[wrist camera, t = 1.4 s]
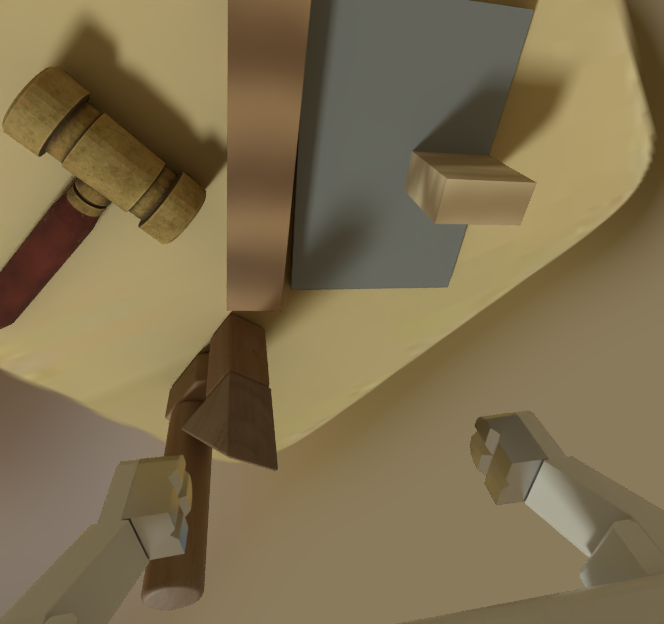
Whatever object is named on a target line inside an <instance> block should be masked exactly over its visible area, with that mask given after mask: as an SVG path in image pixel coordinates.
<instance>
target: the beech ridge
mask: <svg viewBox="0 0 664 624" xmlns="http://www.w3.org/2000/svg"><path fill="white" fill-rule="evenodd" d="M535 186H536V182H535V181H533V180H531V179H529V178H527V177H526V176H524V175H522V174H520V173H519V172H517V171H515V170H513V169H512V168H510V167H508V166H506V165H505V164H503V163H501V162H499V161H498V160H496V159H494V158H492V157H491V156H488V155H471V154H454V153H437V152H420V151H412V154H411V159H410V163H409V168H408V173H407V178H406V183H405V188H404V191H405V192H406V193H407V194H408V195H409V196H410V197H411V198H412V199H413V201H414V202H415V203H416V204H417V205H418V206H419V207H420V208H421V209H422V210H423V211H424V212H425V213H426V214H427V215H428V216H429V218H430V219H431V220H432V221H433V222H434V223H435V224H476V225H520V224H521V222H522V219H523V217H524V214H525V211H526V209H527V206H528V204H529V201H530V199H531V196H532V194H533V191H534V189H535Z"/></svg>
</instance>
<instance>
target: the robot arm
mask: <svg viewBox="0 0 664 624" xmlns="http://www.w3.org/2000/svg"><path fill="white" fill-rule="evenodd" d="M475 427H476V429H477V432H476V433H475V434H474V435H473V436H472V437H471V441H470V451H471V456H472V459H473V462H474V464H475V466H476V468H477V469H478V470H479V471H480V472H482V473H483V474H484V475H486V478H485V485H486V487H487V489H488V491H489V493H490V495H491V497H492V498H493V500H494V502H495V504H496V505H501V504H508V503H516V502H524V501H526V502H525V504H526V505H528V506H529V507H530V508H531V509H532V510H534V511H535V512H536V513H537V514H538V515H539V516H541V517H542V518H543V519H544V520H545V521H547V522H548V523H549V524H550V525H551V526H553V527H554V528H555V529H556V530H557V531H558V532H560V533H561V534H562V535H563V536H564V537H566V538H567V539H568V540H569V541H570V542H571V543H573V544H574V545H575V546H576V547H577V548H579V549H580V550H581V551H582V552H583V553H584V554H586V555H587V556H588V557H589V559H588V561H587V562H586V563H585V565H584V566H583V568H582V569H581V572H580V575H579V576H580V578H581V579H582V581H583V583H584V584H585V586H586V588H582V589H577V590H572V591H567V592H561V593H556V594H551V595H545V596H541V597H535V598H530V599H525V600H519V601H514V602H509V603H503V604H498V605H493V606H488V607H482V608H477V609H472V610H466V611H461V612H456V613H450V614H445V615H440V616H435V617H429V618H424V619H419V620H414V621H408V622H403V623H398V624H664V510H662V509H661V508H659V507H657V506H656V505H654V504H652V503H651V502H649V501H647V500H645V499H644V498H642V497H640V496H639V495H637V494H635V493H634V492H632V491H630V490H628V489H627V488H625V487H623V486H622V485H620V484H618V483H617V482H615V481H613V480H611V479H610V478H608V477H606V476H605V475H603V474H601V473H600V472H598V471H596V470H595V469H593V468H591V467H589V466H588V465H586V464H584V463H583V462H581V461H579V460H577V459H576V458H574V457H572V456H570V457H567V456H566V455H565V453H564V452H563V451H562V449H561V448H560V447H559V446H558V444H557V443H556V442H555V440H554V439H553V438H552V437H551V435H550V434H549V433H548V431H547V430H546V429H545V428H544V426H543V425H542V423H541V422H540V421H539V419H538V418H537V417H536V416H535V414H534V413H533V412H531V411H522V412H514V413H504V414H496V415H489V416H482V417H479V418H478V419H477V420H476V423H475ZM185 466H186V461H185V459H184V456H183V455H175V456H165V457H155V458H145V459H136V460H128V461H121V462H120V463H119V464H118V466H117V467H116V469H115V473H114V476H113V479H112V482H111V485H110V487H109V491H108V494H107V497H106V500H105V502H104V505H103V508H102V511H101V514H100V517H99V520H98V523H97V524H93V525H90V526H89V527H88V528H87V529H86V531H84V533H83V534H82V535H81V536H80V537H79V538H78V539H77V540H76V541H75V542H74V543H73V544H72V545H71V546H70V547H69V548H68V549H67V550H66V551H65V552H64V554H62V555H61V556H60V557H59V559H57V561H56V562H55V563H54V564H53V565H52V566H51V567H50V568H49V569H48V570H47V571H46V572H45V573H44V574H43V575H42V576H41V577H40V578H39V579H38V580H37V581H36V582H35V583H34V584H33V585H32V587H30V589H29V590H28V591H27V592H26V593H25V594H24V595H23V596H22V597H21V598H20V599H19V600H18V601H17V602H16V603H15V604H14V605H13V606H12V607H11V608H10V609H9V610H8V611H7V612H6V613H5V615H4V616H2V618H1V619H0V624H108V623H109V621H110V620H111V618H112V617H113V615H114V614H115V612H116V611H117V609H118V608H119V606H120V605H121V603H122V602H123V601H124V599H125V598H126V596H127V595H128V593H129V592H130V590H131V589H132V587H133V586H134V584H135V583H136V581H137V580H138V578H139V577H140V575H141V573H142V572H143V571H144V569H145V568H146V566H147V565H148V563H149V561H148V560H153V559H158V558H163V557H169V556H174V555H180V554H184V553H185V547H186V540H187V533H188V525H187V522H186V519H185V517H186V515H187V514H188V513H189V512H190V511H191V504H192V483H191V477H190V474H189V473H188V472H186V471H185Z"/></svg>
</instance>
